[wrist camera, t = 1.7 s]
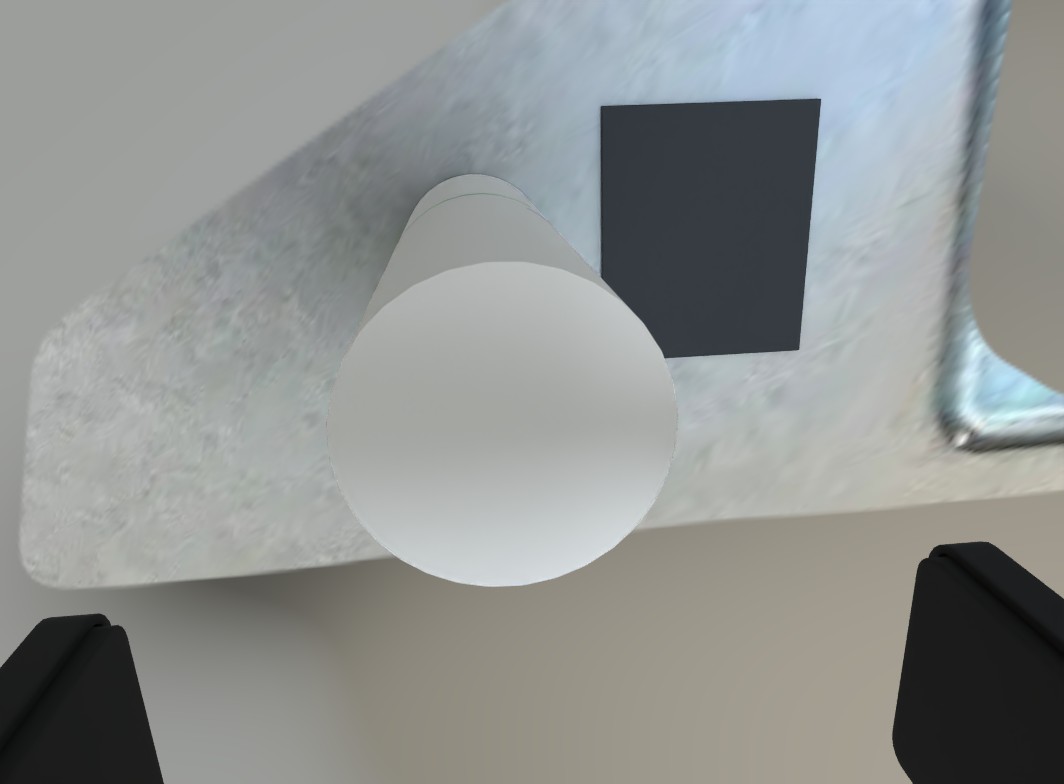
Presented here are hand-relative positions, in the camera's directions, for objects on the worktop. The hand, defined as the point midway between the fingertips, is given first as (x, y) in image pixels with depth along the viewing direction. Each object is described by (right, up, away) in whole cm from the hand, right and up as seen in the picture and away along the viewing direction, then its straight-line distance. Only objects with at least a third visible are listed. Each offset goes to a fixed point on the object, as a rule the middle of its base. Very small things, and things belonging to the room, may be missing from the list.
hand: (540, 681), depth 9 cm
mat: (+9, +12, +31) cm, 34 cm away
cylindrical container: (-3, +11, +30) cm, 32 cm away
